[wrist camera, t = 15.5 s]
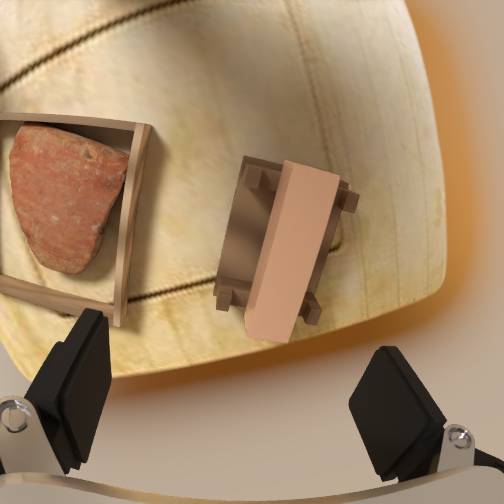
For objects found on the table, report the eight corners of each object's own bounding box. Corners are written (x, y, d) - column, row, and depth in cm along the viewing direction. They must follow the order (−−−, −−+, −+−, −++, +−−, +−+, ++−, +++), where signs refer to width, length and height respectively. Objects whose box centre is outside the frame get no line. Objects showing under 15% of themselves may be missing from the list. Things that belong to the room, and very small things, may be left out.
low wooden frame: (-5, 113, 25) (-19, 112, 23) (151, 125, 29) (144, 123, 26) (-9, 275, 32) (-21, 284, 29) (126, 313, 35) (119, 327, 32)
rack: (243, 155, 30) (246, 157, 26) (345, 182, 32) (364, 189, 27) (213, 291, 35) (211, 314, 30) (306, 307, 37) (317, 330, 32)
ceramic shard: (-18, 243, 26) (19, 114, 24) (14, 237, 32) (50, 124, 30) (75, 303, 27) (125, 152, 25) (101, 286, 33) (147, 161, 31)
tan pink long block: (284, 159, 27) (294, 162, 24) (326, 171, 28) (340, 175, 24) (244, 315, 32) (246, 337, 29) (281, 321, 33) (287, 343, 29)
